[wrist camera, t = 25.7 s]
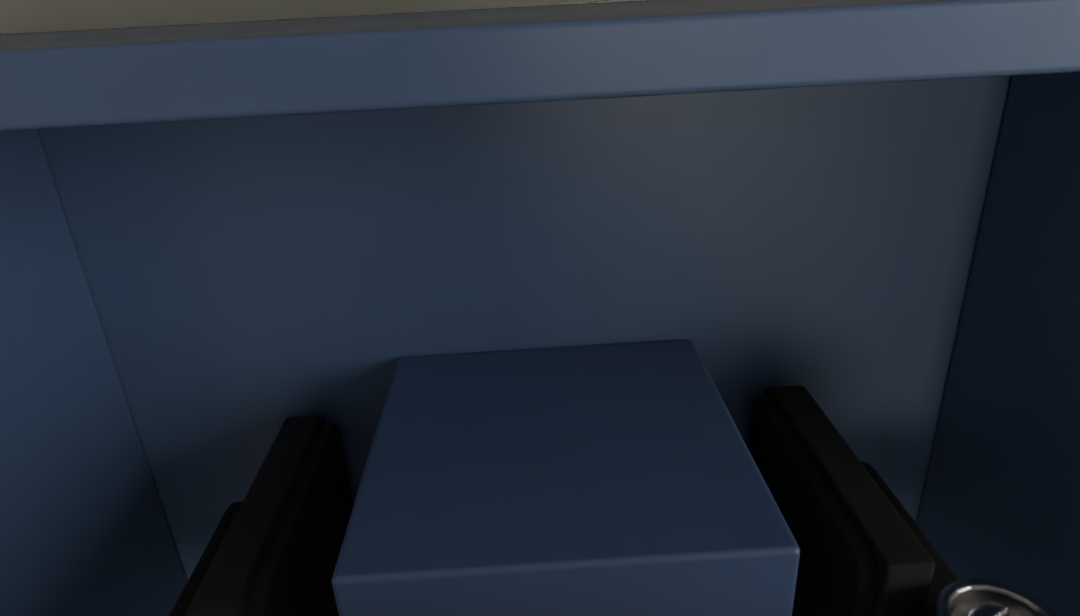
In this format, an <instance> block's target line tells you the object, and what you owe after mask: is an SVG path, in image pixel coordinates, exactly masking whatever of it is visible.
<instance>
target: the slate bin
mask: <svg viewBox="0 0 1080 616" xmlns="http://www.w3.org/2000/svg"><path fill="white" fill-rule="evenodd" d="M680 340H690V341H692V342H693V344H694V346H695V348H696V350H697V352H698V354H699V356H700V357H701V359H702V361H703V363H704V365H705V367H706V369H707V371H708V373H709V375H710V377H711V379H712V381H713V382H714V384H715V386H716V388H717V390H718V392H719V394H720V396H721V398H722V400H723V402H724V404H725V406H726V407H727V409H728V411H729V413H730V415H731V417H732V419H733V421H734V423H735V425H736V427H737V429H738V431H739V432H740V434H741V436H742V438H743V440H744V442H745V444H746V446H747V448H748V450H749V442H750V431H751V419H752V408H753V401H754V399H755V398H756V397H761V396H764V392H765V390H766V389H767V388H768V387H781V386H797V385H801V386H804V387H805V388H806V389H807V390H808V392H809V393H810V394H811V396H812V397H813V399H814V400H815V401H816V403H817V404H818V405H819V407H820V408H821V409H822V411H823V412H824V413H825V415H826V416H827V417H828V419H829V420H830V421H831V423H832V424H833V425H834V427H835V428H836V429H837V431H838V432H839V434H840V435H841V436H842V438H843V439H844V440H845V442H846V443H847V444H848V446H849V447H850V448H851V450H852V451H853V452H854V454H855V455H856V456H857V458H858V459H859V460H860V462H861V461H863V462H866V463H869V464H870V465H871V466H872V467H873V468H874V469H875V470H876V471H877V473H878V474H879V475H880V476H881V478H882V479H883V480H884V482H885V483H886V484H887V486H888V487H889V488H890V490H891V491H892V492H893V494H894V495H895V496H896V498H897V499H898V500H899V501H900V503H901V504H902V505H903V507H904V508H905V509H906V511H907V512H908V513H909V515H910V516H911V517H912V519H913V520H914V521H915V522H916V524H917V525H918V526H919V528H920V529H921V530H922V532H923V533H924V534H925V536H926V537H927V538H928V540H929V541H930V542H931V543H932V545H933V546H934V547H935V549H936V550H937V551H938V553H939V554H940V555H941V557H942V558H943V559H944V561H945V562H946V563H947V564H948V566H949V567H950V568H951V570H952V571H953V572H954V574H955V575H956V576H957V578H958V579H959V580H963V579H973V578H977V579H985V580H993V581H997V582H1000V583H1004V584H1007V585H1010V586H1013V587H1016V588H1018V589H1020V590H1022V591H1024V592H1026V593H1028V594H1030V595H1032V596H1034V597H1036V598H1038V599H1039V600H1040V601H1042V602H1043V603H1044V604H1046V605H1047V606H1048V607H1050V608H1051V609H1053V610H1054V611H1055V612H1056V613H1057V614H1058V615H1059V616H1080V0H646V1H627V2H608V3H589V4H570V5H550V6H531V7H512V8H493V9H474V10H455V11H436V12H417V13H398V14H379V15H360V16H341V17H322V18H303V19H284V20H264V21H245V22H226V23H207V24H188V25H169V26H150V27H131V28H112V29H93V30H74V31H55V32H36V33H17V34H0V616H169V615H170V613H171V611H172V609H173V607H174V606H175V604H176V602H177V600H178V598H179V596H180V595H181V593H182V591H183V589H184V587H185V585H186V583H187V582H188V580H189V578H190V576H191V574H192V572H193V570H194V569H195V567H196V565H197V563H198V561H199V559H200V557H201V556H202V554H203V552H204V550H205V548H206V546H207V544H208V543H209V541H210V539H211V537H212V535H213V533H214V531H215V530H216V528H217V526H218V524H219V522H220V520H221V518H222V517H223V515H224V513H225V511H226V510H227V508H228V507H229V506H230V505H231V504H232V503H234V502H239V501H243V500H244V498H245V497H246V495H247V493H248V491H249V489H250V487H251V485H252V483H253V481H254V479H255V477H256V475H257V473H258V471H259V469H260V467H261V466H262V464H263V462H264V460H265V458H266V456H267V454H268V452H269V450H270V448H271V446H272V444H273V442H274V440H275V438H276V436H277V434H278V433H279V431H280V429H281V427H282V425H283V423H284V421H285V420H286V418H288V417H299V416H315V415H323V416H324V417H325V418H326V420H327V423H328V424H329V423H336V424H337V425H338V427H339V431H340V436H341V441H342V446H343V451H344V456H345V462H346V467H347V472H348V477H349V482H350V488H351V493H352V498H353V503H355V499H356V496H357V493H358V489H359V486H360V483H361V479H362V476H363V472H364V469H365V466H366V462H367V459H368V456H369V452H370V449H371V445H372V442H373V439H374V435H375V432H376V429H377V425H378V422H379V419H380V415H381V412H382V408H383V405H384V402H385V398H386V395H387V392H388V388H389V385H390V382H391V378H392V375H393V371H394V368H395V365H396V361H397V359H398V358H401V357H417V356H434V355H450V354H466V353H483V352H499V351H516V350H532V349H548V348H565V347H581V346H598V345H614V344H630V343H647V342H663V341H680Z"/></svg>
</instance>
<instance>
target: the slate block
mask: <svg viewBox="0 0 1080 616" xmlns="http://www.w3.org/2000/svg"><path fill="white" fill-rule="evenodd" d="M799 557H800V548H799V546H798V544H797V542H796V540H795V538H794V536H793V534H792V532H791V530H790V529H789V527H788V525H787V523H786V521H785V519H784V517H783V515H782V513H781V511H780V509H779V507H778V505H777V504H776V502H775V500H774V498H773V496H772V494H771V492H770V490H769V488H768V486H767V484H766V482H765V481H764V479H763V477H762V475H761V473H760V471H759V469H758V467H757V465H756V463H755V461H754V459H753V457H752V456H751V454H750V452H749V450H748V448H747V446H746V444H745V442H744V440H743V438H742V436H741V434H740V432H739V431H738V429H737V427H736V425H735V423H734V421H733V419H732V417H731V415H730V413H729V411H728V409H727V407H726V406H725V404H724V402H723V400H722V398H721V396H720V394H719V392H718V390H717V388H716V386H715V384H714V382H713V381H712V379H711V377H710V375H709V373H708V371H707V369H706V367H705V365H704V363H703V361H702V359H701V357H700V356H699V354H698V352H697V350H696V348H695V346H694V344H693V342H692V341H690V340H680V341H663V342H647V343H630V344H614V345H598V346H581V347H565V348H548V349H532V350H516V351H499V352H483V353H466V354H450V355H434V356H417V357H401V358H398V359H397V361H396V365H395V368H394V371H393V375H392V378H391V382H390V385H389V388H388V392H387V395H386V398H385V402H384V405H383V408H382V412H381V415H380V419H379V422H378V425H377V429H376V432H375V435H374V439H373V442H372V445H371V449H370V452H369V456H368V459H367V462H366V466H365V469H364V472H363V476H362V479H361V483H360V486H359V489H358V493H357V496H356V499H355V503H354V506H353V509H352V513H351V516H350V520H349V523H348V526H347V530H346V533H345V536H344V540H343V543H342V546H341V550H340V553H339V557H338V560H337V563H336V567H335V570H334V573H333V577H332V580H331V582H332V587H333V591H334V596H335V601H336V605H337V610H338V614H339V616H792V610H793V603H794V595H795V588H796V580H797V573H798V565H799Z"/></svg>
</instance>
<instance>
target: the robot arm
mask: <svg viewBox="0 0 1080 616" xmlns="http://www.w3.org/2000/svg"><path fill="white" fill-rule="evenodd" d="M749 452H750V454H751V456H752V457H753V459H754V461H755V463H756V465H757V467H758V469H759V471H760V473H761V475H762V477H763V479H764V481H765V482H766V484H767V486H768V488H769V490H770V492H771V494H772V496H773V498H774V500H775V502H776V504H777V505H778V507H779V509H780V511H781V513H782V515H783V517H784V519H785V521H786V523H787V525H788V527H789V529H790V530H791V532H792V534H793V536H794V538H795V540H796V542H797V544H798V546H799V548H800V557H799V565H798V573H797V580H796V588H795V595H794V603H793V610H792V616H1059V615H1058V614H1057V613H1056V612H1055V611H1054V610H1053V609H1051V608H1050V607H1048V606H1047V605H1046V604H1044V603H1043V602H1042V601H1040V600H1039V599H1038V598H1036V597H1034V596H1032V595H1030V594H1028V593H1026V592H1024V591H1022V590H1020V589H1018V588H1016V587H1013V586H1010V585H1007V584H1004V583H1000V582H997V581H993V580H985V579H977V578H973V579H963V580H959V579H958V578H957V576H956V575H955V574H954V572H953V571H952V570H951V568H950V567H949V566H948V564H947V563H946V562H945V561H944V559H943V558H942V557H941V555H940V554H939V553H938V551H937V550H936V549H935V547H934V546H933V545H932V543H931V542H930V541H929V540H928V538H927V537H926V536H925V534H924V533H923V532H922V530H921V529H920V528H919V526H918V525H917V524H916V522H915V521H914V520H913V519H912V517H911V516H910V515H909V513H908V512H907V511H906V509H905V508H904V507H903V505H902V504H901V503H900V501H899V500H898V499H897V498H896V496H895V495H894V494H893V492H892V491H891V490H890V488H889V487H888V486H887V484H886V483H885V482H884V480H883V479H882V478H881V476H880V475H879V474H878V473H877V471H876V470H875V469H874V468H873V467H872V466H871V465H870V464H869V463H866V462H863V461H861V462H860V460H859V459H858V458H857V456H856V455H855V454H854V452H853V451H852V450H851V448H850V447H849V446H848V444H847V443H846V442H845V440H844V439H843V438H842V436H841V435H840V434H839V432H838V431H837V429H836V428H835V427H834V425H833V424H832V423H831V421H830V420H829V419H828V417H827V416H826V415H825V413H824V412H823V411H822V409H821V408H820V407H819V405H818V404H817V403H816V401H815V400H814V399H813V397H812V396H811V394H810V393H809V392H808V390H807V389H806V388H805V387H804V386H801V385H797V386H781V387H768V388H767V389H766V390H765V392H764V396H761V397H756V398H755V399H754V401H753V408H752V419H751V431H750V442H749ZM353 506H354V503H353V498H352V493H351V488H350V482H349V477H348V472H347V467H346V462H345V456H344V451H343V446H342V441H341V436H340V431H339V427H338V425H337V424H336V423H329V424H328V423H327V420H326V418H325V417H324V416H323V415H315V416H299V417H288V418H286V420H285V421H284V423H283V425H282V427H281V429H280V431H279V433H278V434H277V436H276V438H275V440H274V442H273V444H272V446H271V448H270V450H269V452H268V454H267V456H266V458H265V460H264V462H263V464H262V466H261V467H260V469H259V471H258V473H257V475H256V477H255V479H254V481H253V483H252V485H251V487H250V489H249V491H248V493H247V495H246V497H245V498H244V500H243V501H239V502H234V503H232V504H231V505H230V506H229V507H228V508H227V510H226V511H225V513H224V515H223V517H222V518H221V520H220V522H219V524H218V526H217V528H216V530H215V531H214V533H213V535H212V537H211V539H210V541H209V543H208V544H207V546H206V548H205V550H204V552H203V554H202V556H201V557H200V559H199V561H198V563H197V565H196V567H195V569H194V570H193V572H192V574H191V576H190V578H189V580H188V582H187V583H186V585H185V587H184V589H183V591H182V593H181V595H180V596H179V598H178V600H177V602H176V604H175V606H174V607H173V609H172V611H171V613H170V615H169V616H339V614H338V610H337V605H336V601H335V596H334V591H333V587H332V582H331V580H332V577H333V573H334V570H335V567H336V563H337V560H338V557H339V553H340V550H341V546H342V543H343V540H344V536H345V533H346V530H347V526H348V523H349V520H350V516H351V513H352V509H353Z"/></svg>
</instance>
